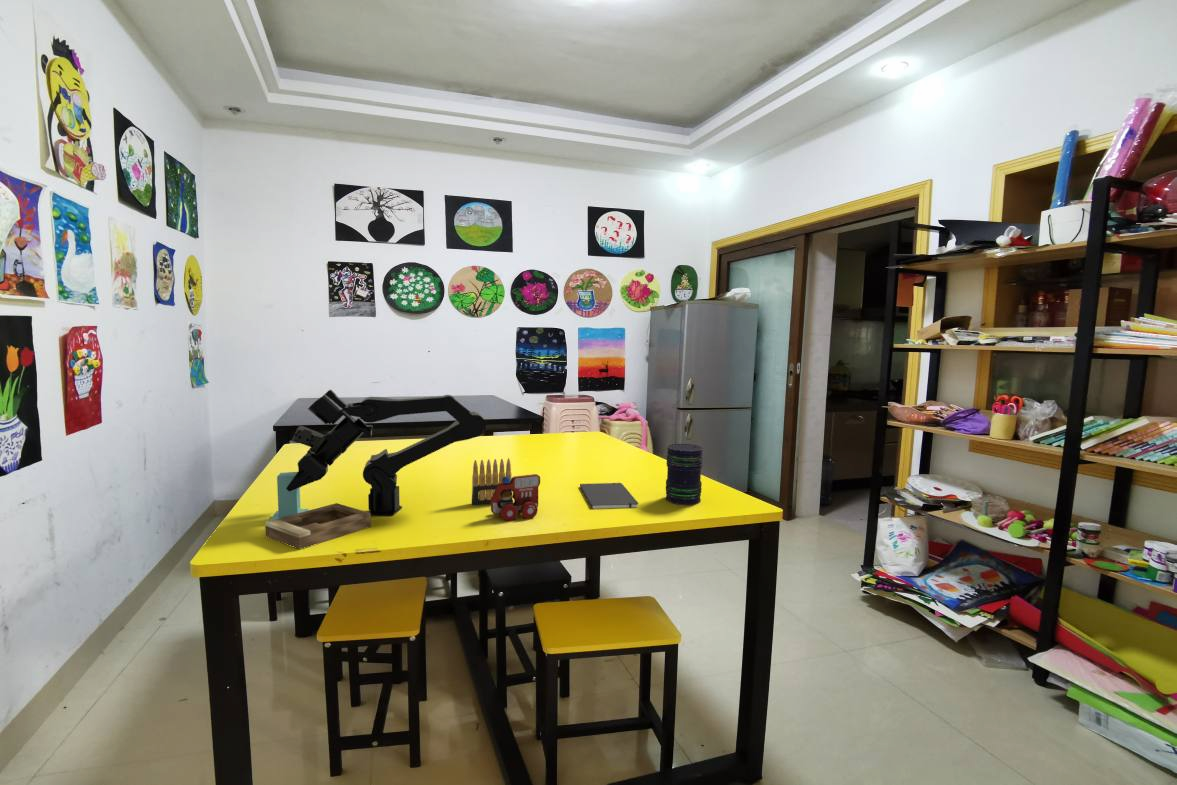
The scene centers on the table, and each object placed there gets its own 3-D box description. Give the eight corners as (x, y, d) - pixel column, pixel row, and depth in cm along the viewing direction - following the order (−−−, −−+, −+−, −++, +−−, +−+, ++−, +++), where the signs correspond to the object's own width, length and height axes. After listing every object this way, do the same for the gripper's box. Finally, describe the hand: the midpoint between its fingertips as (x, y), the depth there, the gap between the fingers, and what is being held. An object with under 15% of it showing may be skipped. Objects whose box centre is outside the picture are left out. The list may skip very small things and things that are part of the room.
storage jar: (668, 505, 150) (670, 450, 148) (662, 494, 160) (664, 443, 158) (705, 505, 150) (707, 451, 149) (696, 495, 160) (698, 443, 158)
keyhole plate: (336, 516, 136) (336, 503, 135) (370, 526, 129) (370, 512, 128) (265, 536, 121) (265, 522, 121) (299, 549, 114) (299, 534, 114)
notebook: (579, 488, 166) (591, 511, 145) (579, 483, 166) (592, 505, 145) (621, 487, 168) (639, 509, 147) (621, 482, 168) (639, 503, 147)
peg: (308, 513, 138) (307, 469, 137) (303, 522, 131) (301, 476, 130) (276, 515, 135) (275, 471, 134) (270, 525, 129) (268, 478, 128)
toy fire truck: (487, 514, 139) (487, 473, 138) (534, 509, 144) (535, 470, 143) (494, 523, 133) (494, 480, 132) (543, 517, 138) (543, 476, 137)
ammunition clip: (472, 505, 146) (472, 460, 145) (471, 503, 148) (471, 459, 147) (512, 502, 150) (512, 458, 148) (511, 500, 151) (511, 457, 150)
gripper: (320, 409, 141) (273, 454, 139) (307, 420, 124) (253, 472, 121) (354, 439, 145) (308, 483, 142) (346, 454, 127) (294, 504, 125)
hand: (291, 484), depth 133 cm, fingers open, 9 cm apart
